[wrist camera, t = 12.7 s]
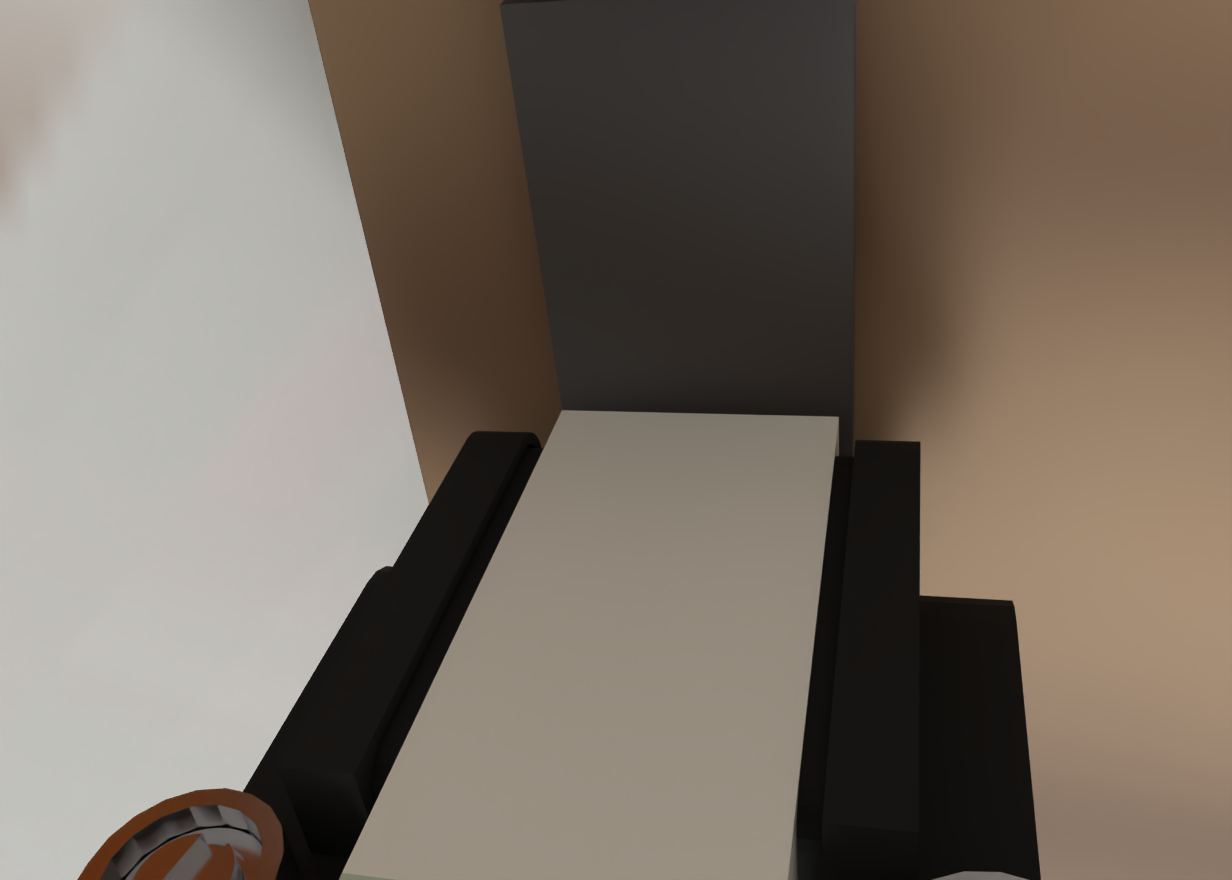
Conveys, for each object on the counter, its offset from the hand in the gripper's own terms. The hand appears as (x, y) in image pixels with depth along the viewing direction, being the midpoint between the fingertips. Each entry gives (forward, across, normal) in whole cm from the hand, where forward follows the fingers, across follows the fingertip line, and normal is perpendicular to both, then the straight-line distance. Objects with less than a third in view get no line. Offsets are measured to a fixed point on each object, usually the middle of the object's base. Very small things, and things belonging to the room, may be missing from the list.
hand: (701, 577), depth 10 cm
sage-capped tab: (0, 0, 0) cm, 0 cm away
